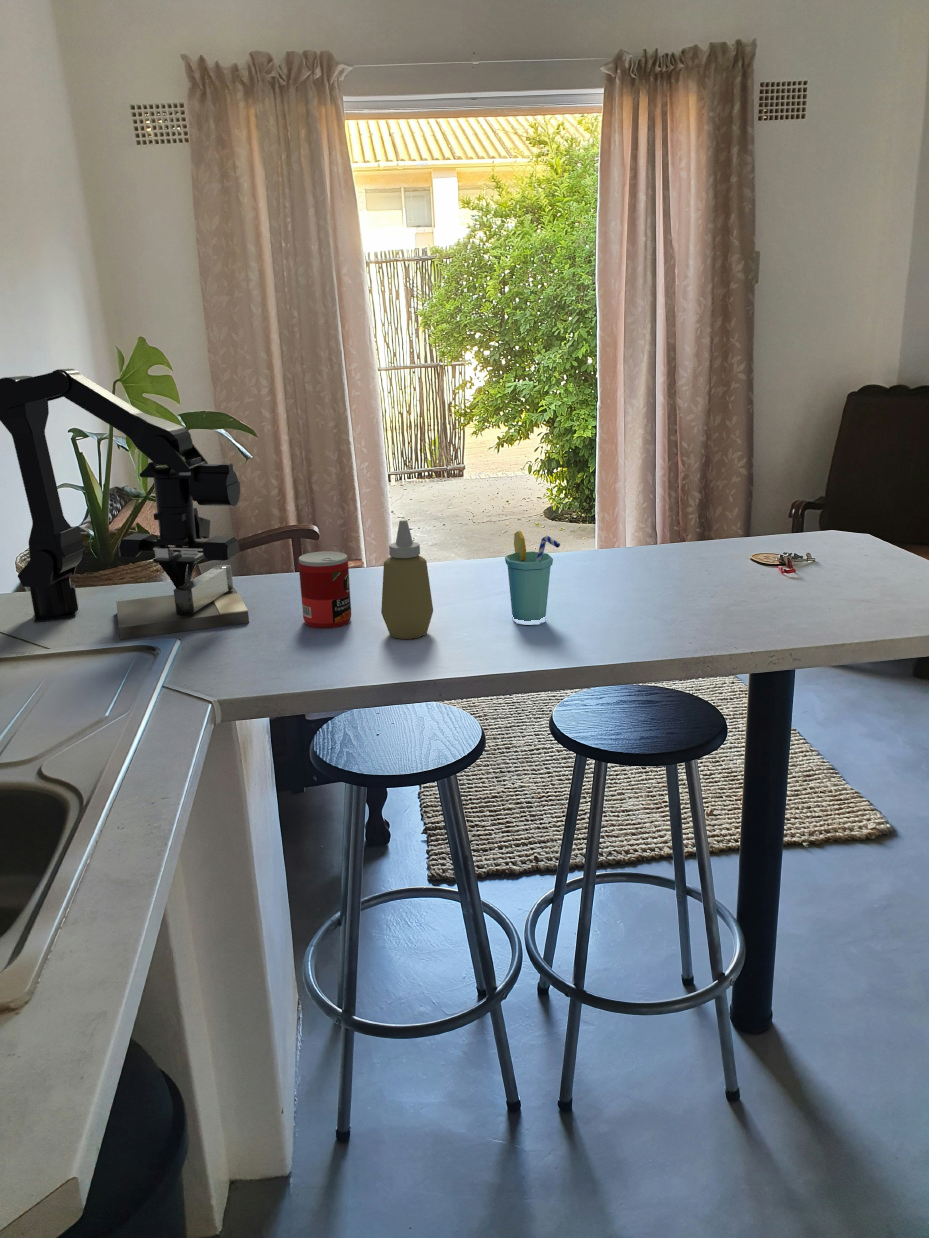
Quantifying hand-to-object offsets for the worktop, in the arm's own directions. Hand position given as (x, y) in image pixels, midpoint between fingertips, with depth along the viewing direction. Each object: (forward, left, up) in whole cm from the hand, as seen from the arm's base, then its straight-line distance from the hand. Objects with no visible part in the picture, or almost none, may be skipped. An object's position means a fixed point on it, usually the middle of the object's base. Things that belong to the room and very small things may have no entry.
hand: (184, 596), depth 150 cm
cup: (+51, -28, -4) cm, 59 cm away
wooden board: (-1, 0, -4) cm, 4 cm away
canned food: (+21, -13, -4) cm, 25 cm away
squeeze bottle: (+31, -25, -4) cm, 40 cm away
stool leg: (+3, 0, -1) cm, 4 cm away
